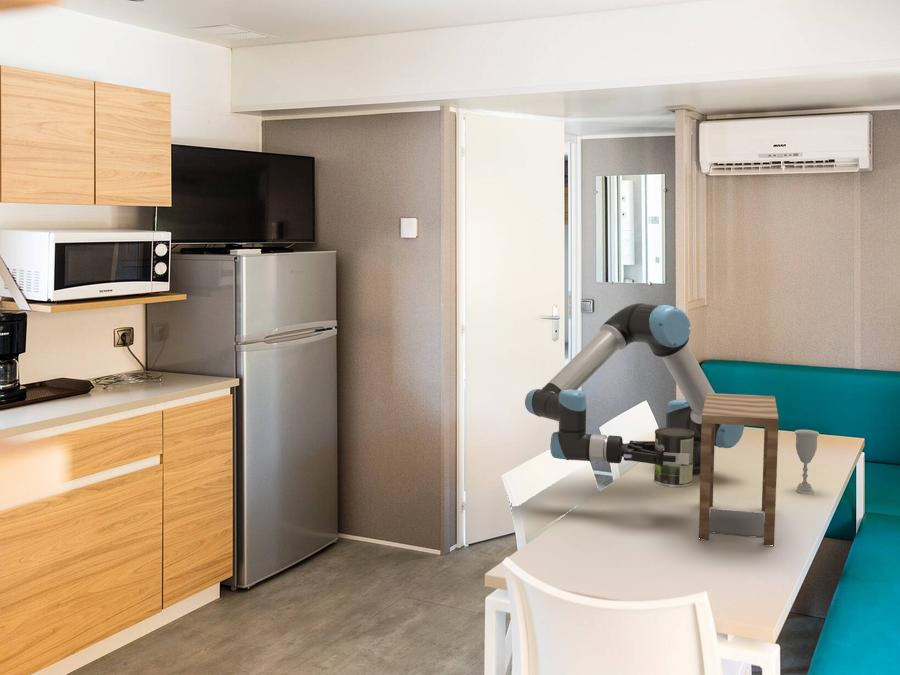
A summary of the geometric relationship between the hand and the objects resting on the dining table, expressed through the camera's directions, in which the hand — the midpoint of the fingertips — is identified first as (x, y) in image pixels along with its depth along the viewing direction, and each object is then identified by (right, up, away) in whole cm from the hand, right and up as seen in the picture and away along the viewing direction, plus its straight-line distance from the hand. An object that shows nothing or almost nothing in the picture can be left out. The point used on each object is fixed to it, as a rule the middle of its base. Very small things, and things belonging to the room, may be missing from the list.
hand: (690, 454), depth 243 cm
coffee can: (-4, -8, +2) cm, 9 cm away
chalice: (+41, -15, +28) cm, 52 cm away
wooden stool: (+12, -18, -2) cm, 22 cm away
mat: (+12, -18, -2) cm, 22 cm away
